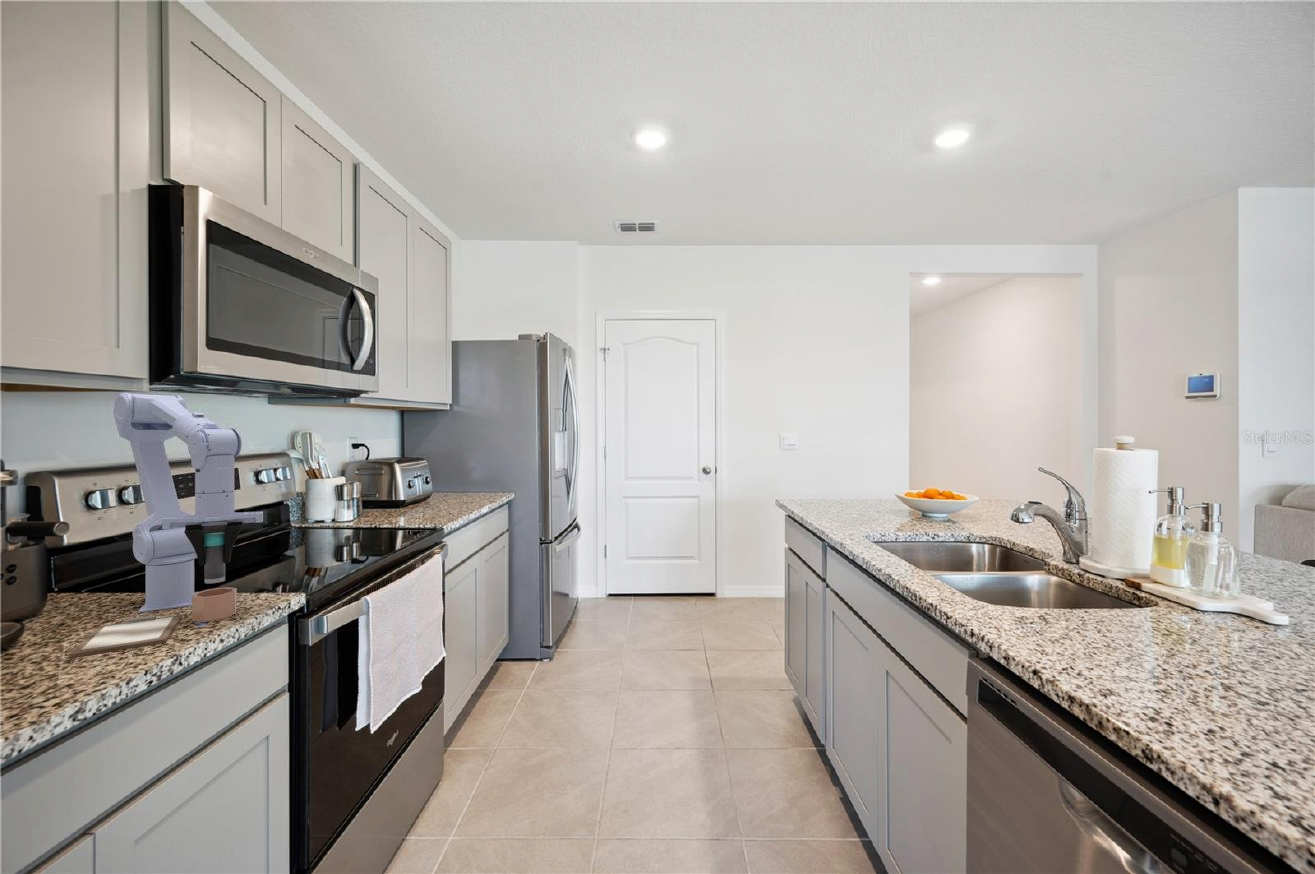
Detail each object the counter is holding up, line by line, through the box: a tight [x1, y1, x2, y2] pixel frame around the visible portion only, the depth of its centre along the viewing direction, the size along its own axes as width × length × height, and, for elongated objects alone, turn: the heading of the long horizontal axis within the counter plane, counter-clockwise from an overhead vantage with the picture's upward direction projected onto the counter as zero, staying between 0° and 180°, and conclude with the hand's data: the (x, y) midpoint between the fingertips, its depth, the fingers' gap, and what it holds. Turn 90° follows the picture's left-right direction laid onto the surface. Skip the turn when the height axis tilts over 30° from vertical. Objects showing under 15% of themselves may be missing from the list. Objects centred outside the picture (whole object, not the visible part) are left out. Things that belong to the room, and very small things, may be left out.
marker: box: [204, 532, 226, 585], centre depth 100 cm, size 3×3×9 cm
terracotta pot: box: [191, 586, 238, 623], centre depth 100 cm, size 6×6×4 cm
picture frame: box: [68, 614, 183, 659], centre depth 90 cm, size 14×11×1 cm
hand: (215, 563), depth 100 cm, fingers closed on marker, 3 cm apart
